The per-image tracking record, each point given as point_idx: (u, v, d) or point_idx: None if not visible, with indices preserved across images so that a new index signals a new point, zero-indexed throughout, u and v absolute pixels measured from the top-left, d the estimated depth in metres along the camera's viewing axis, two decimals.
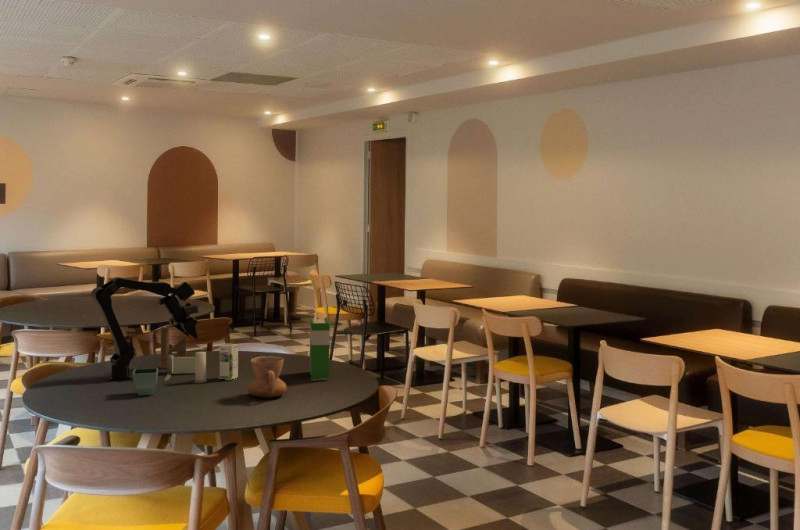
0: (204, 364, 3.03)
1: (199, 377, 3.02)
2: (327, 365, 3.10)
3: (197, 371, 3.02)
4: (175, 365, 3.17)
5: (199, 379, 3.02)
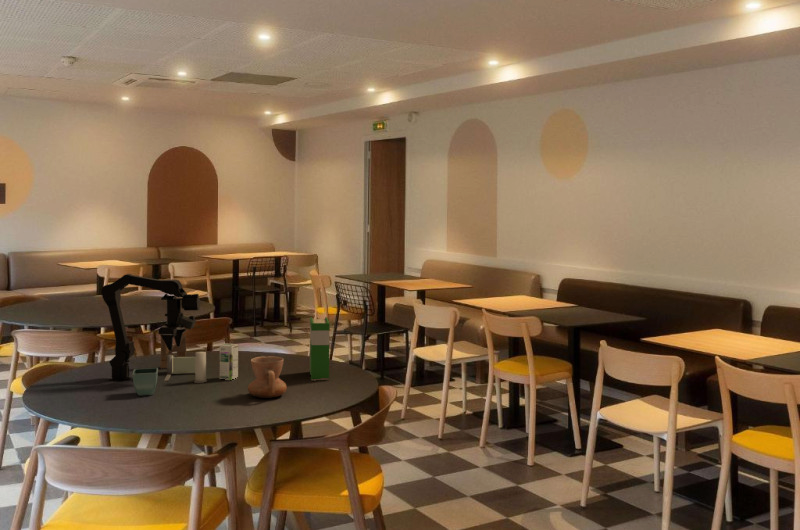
0: (204, 364, 3.03)
1: (199, 377, 3.02)
2: (327, 365, 3.10)
3: (197, 371, 3.02)
4: (175, 365, 3.17)
5: (199, 379, 3.02)
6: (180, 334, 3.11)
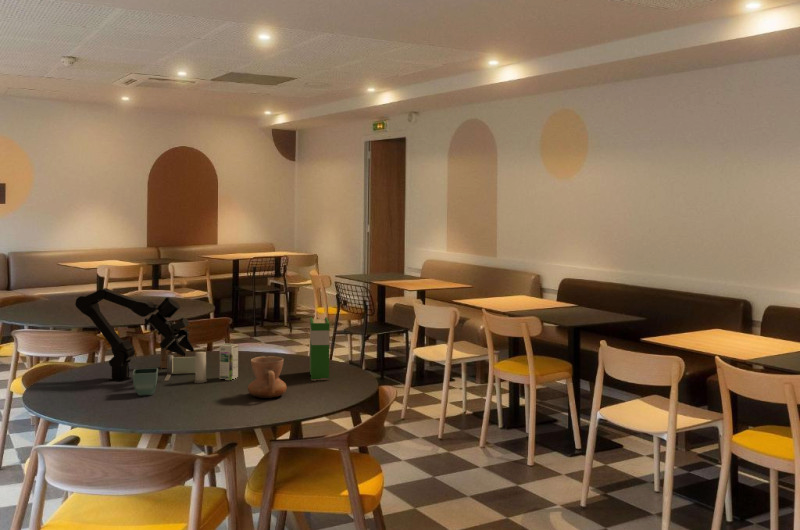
0: (204, 364, 3.03)
1: (199, 377, 3.02)
2: (327, 365, 3.10)
3: (197, 371, 3.02)
4: (175, 365, 3.17)
5: (199, 379, 3.02)
6: (186, 341, 3.09)
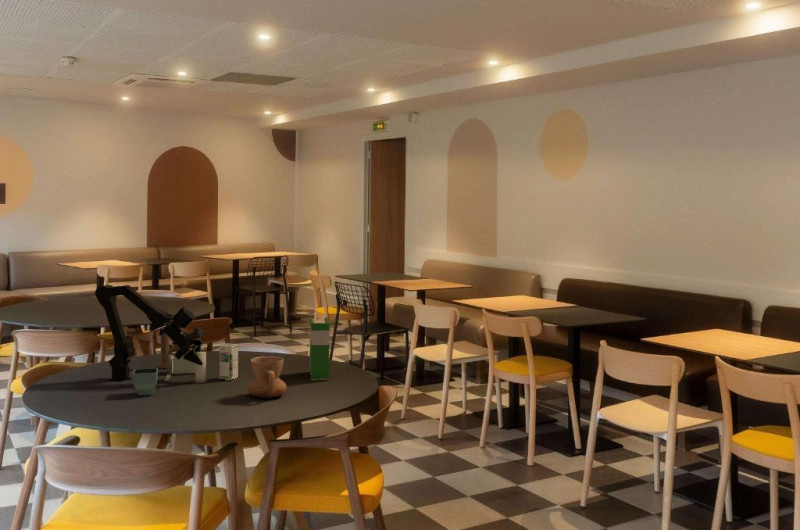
0: (204, 364, 3.03)
1: (199, 377, 3.02)
2: (327, 365, 3.10)
3: (197, 371, 3.02)
4: (175, 365, 3.17)
5: (199, 379, 3.02)
6: None
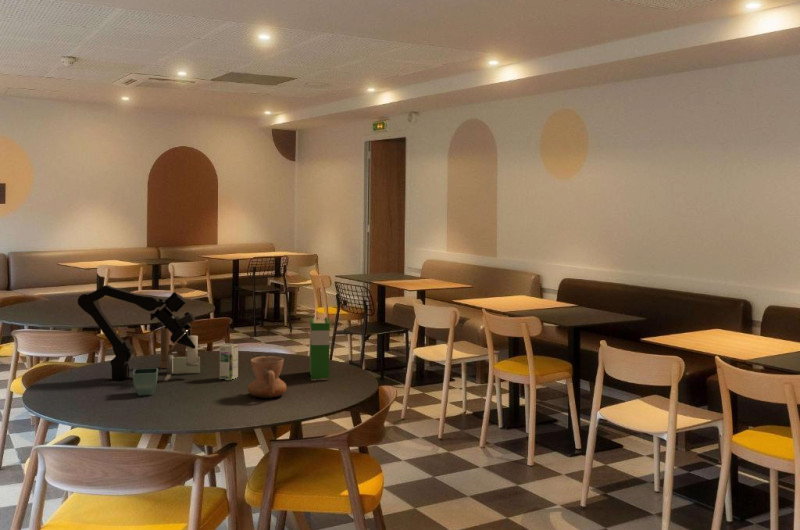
0: (196, 347, 3.09)
1: (191, 360, 3.08)
2: (327, 365, 3.10)
3: (190, 354, 3.08)
4: (175, 365, 3.17)
5: (191, 362, 3.08)
6: None
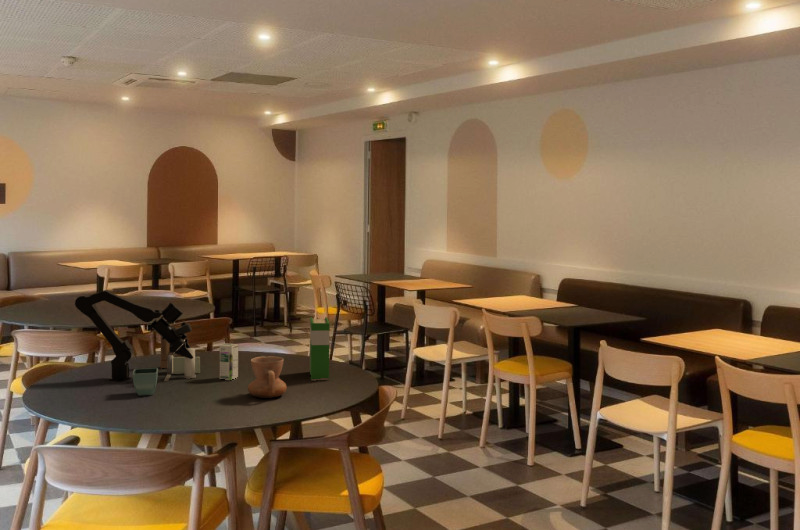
0: (194, 360, 3.11)
1: (189, 373, 3.10)
2: (327, 365, 3.10)
3: (187, 367, 3.10)
4: (175, 365, 3.17)
5: (189, 375, 3.10)
6: (186, 345, 3.14)
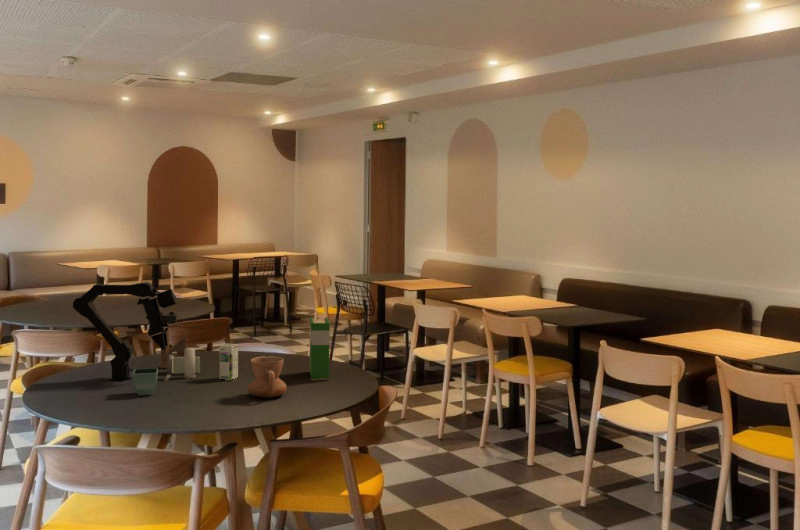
0: (194, 360, 3.11)
1: (189, 373, 3.10)
2: (327, 365, 3.10)
3: (187, 367, 3.10)
4: (175, 365, 3.17)
5: (189, 375, 3.10)
6: (164, 334, 3.12)
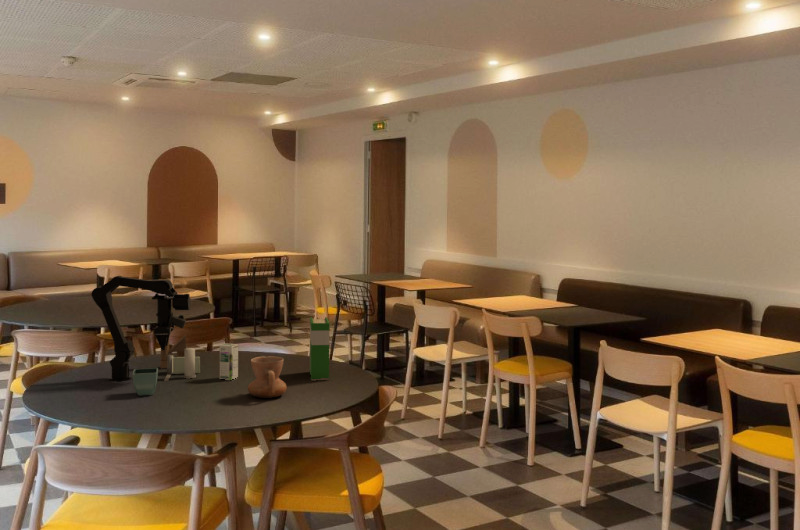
0: (194, 360, 3.11)
1: (189, 373, 3.10)
2: (327, 365, 3.10)
3: (187, 367, 3.10)
4: (175, 365, 3.17)
5: (189, 375, 3.10)
6: None
